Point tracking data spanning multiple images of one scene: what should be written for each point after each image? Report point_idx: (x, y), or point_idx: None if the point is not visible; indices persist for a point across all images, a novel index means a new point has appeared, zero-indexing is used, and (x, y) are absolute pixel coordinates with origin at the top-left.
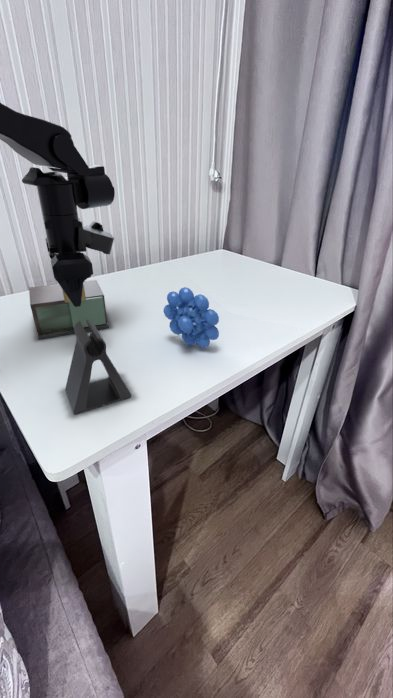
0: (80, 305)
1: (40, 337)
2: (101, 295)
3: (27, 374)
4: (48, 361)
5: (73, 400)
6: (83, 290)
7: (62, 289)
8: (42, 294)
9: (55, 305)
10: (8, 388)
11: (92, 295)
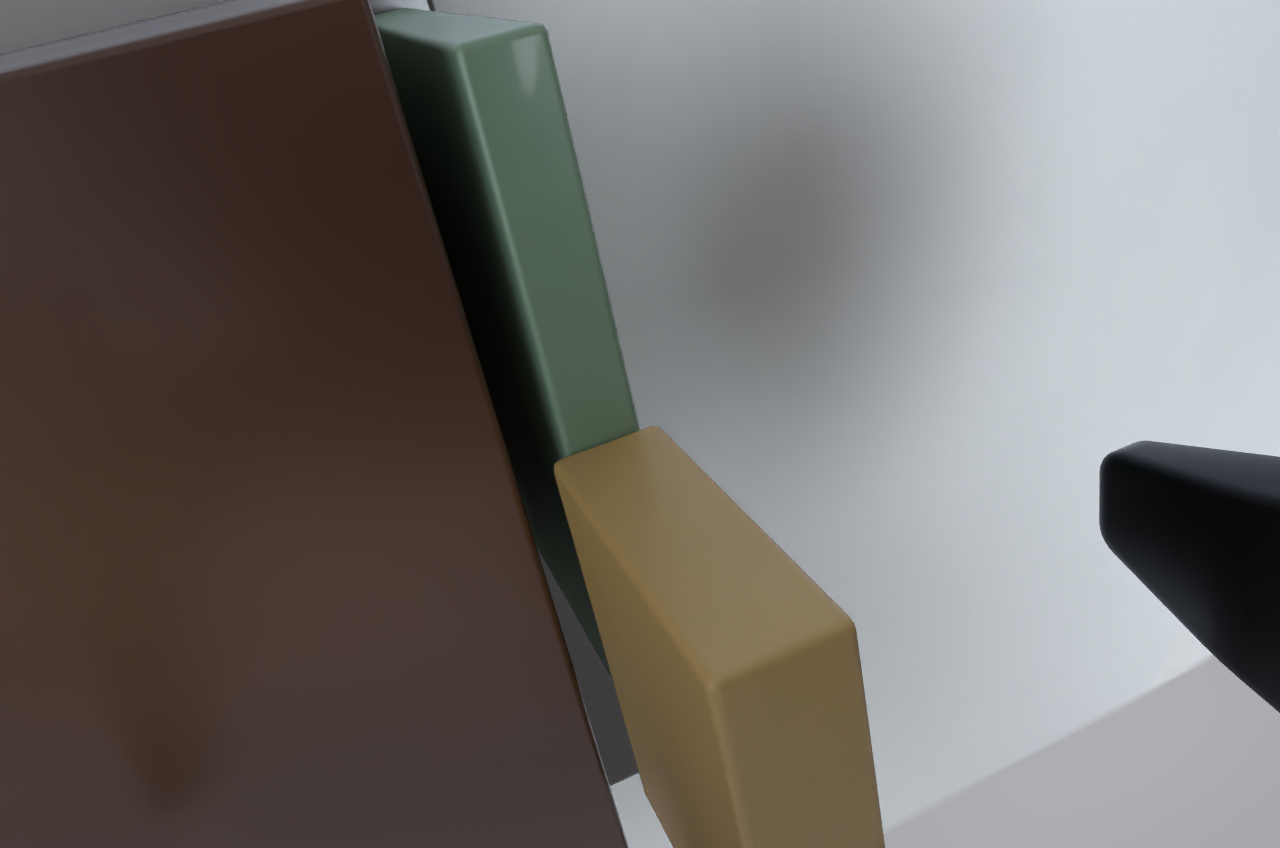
0: (1153, 443)
1: None
2: (382, 67)
3: (1105, 607)
4: (997, 525)
5: None
6: (769, 556)
7: None
8: None
9: None
10: (1197, 653)
11: (396, 322)
